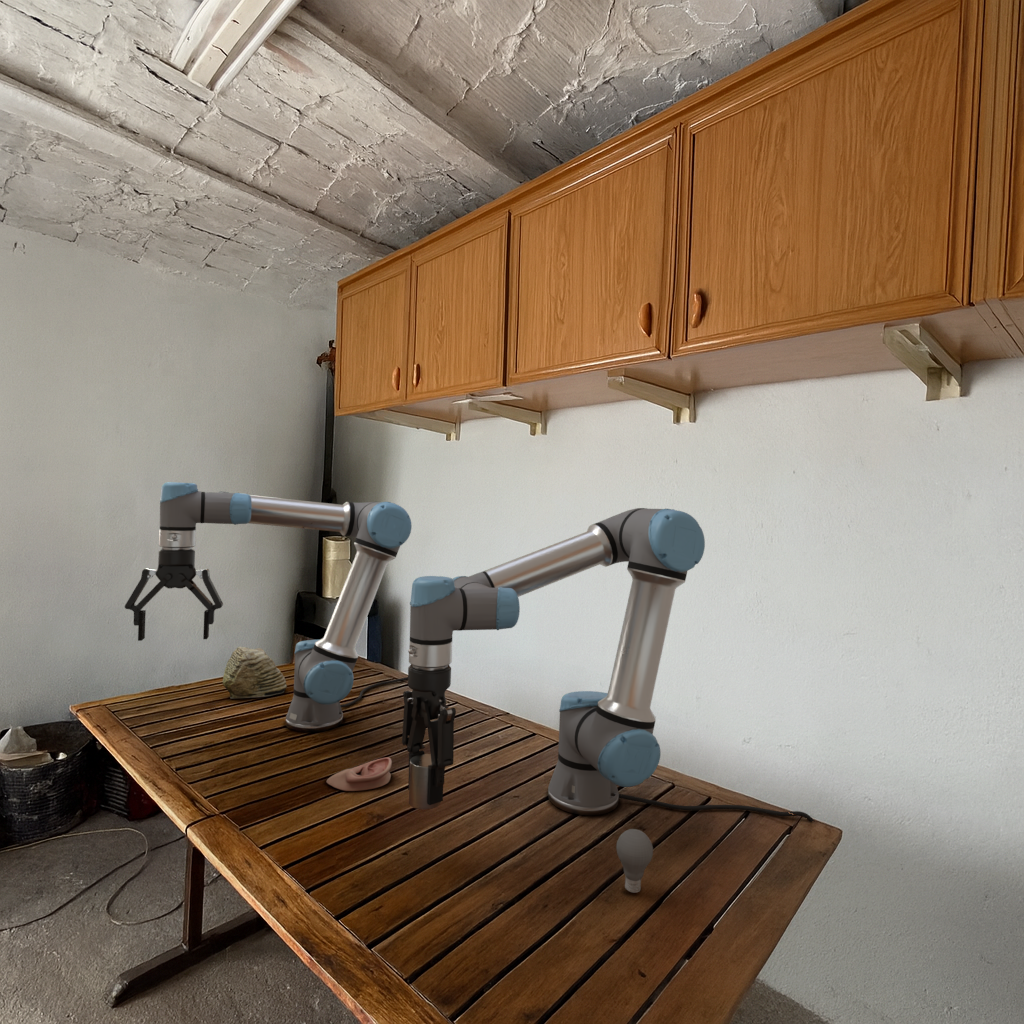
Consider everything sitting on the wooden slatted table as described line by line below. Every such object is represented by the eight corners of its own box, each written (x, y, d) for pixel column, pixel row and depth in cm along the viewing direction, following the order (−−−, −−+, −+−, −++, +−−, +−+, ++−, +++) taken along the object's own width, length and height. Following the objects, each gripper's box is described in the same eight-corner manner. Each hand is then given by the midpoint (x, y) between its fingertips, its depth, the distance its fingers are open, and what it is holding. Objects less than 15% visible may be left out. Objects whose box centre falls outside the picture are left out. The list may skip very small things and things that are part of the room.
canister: (440, 809, 109) (442, 766, 109) (407, 809, 109) (409, 767, 109) (440, 794, 115) (442, 753, 115) (409, 794, 114) (410, 753, 114)
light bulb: (610, 879, 108) (613, 822, 108) (644, 879, 109) (647, 822, 109) (619, 902, 102) (622, 840, 102) (655, 901, 103) (658, 840, 103)
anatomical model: (320, 769, 137) (344, 749, 149) (319, 787, 138) (343, 766, 149) (377, 777, 135) (397, 756, 146) (376, 795, 135) (397, 773, 146)
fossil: (218, 695, 195) (220, 647, 195) (278, 685, 208) (279, 640, 207) (228, 703, 189) (230, 653, 188) (289, 692, 201) (290, 645, 201)
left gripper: (111, 548, 141) (108, 643, 141) (233, 550, 148) (229, 641, 148) (121, 545, 148) (118, 636, 148) (236, 547, 155) (233, 634, 155)
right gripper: (385, 656, 116) (380, 781, 117) (441, 681, 102) (436, 823, 102) (420, 651, 121) (415, 771, 121) (478, 674, 107) (473, 810, 107)
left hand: (174, 638), depth 148 cm, fingers open, 13 cm apart
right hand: (425, 794), depth 112 cm, fingers closed on canister, 6 cm apart
